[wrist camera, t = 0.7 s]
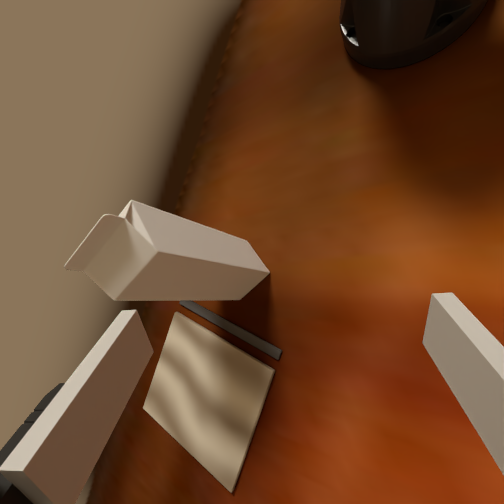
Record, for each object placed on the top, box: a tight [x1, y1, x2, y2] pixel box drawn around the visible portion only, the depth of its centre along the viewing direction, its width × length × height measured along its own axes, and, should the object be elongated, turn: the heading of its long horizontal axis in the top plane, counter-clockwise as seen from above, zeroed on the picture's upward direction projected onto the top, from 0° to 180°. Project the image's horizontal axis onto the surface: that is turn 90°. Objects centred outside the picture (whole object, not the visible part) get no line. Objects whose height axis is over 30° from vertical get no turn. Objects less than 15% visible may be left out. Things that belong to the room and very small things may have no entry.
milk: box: [64, 200, 270, 301], centre depth 29 cm, size 6×6×22 cm
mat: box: [143, 300, 282, 493], centre depth 39 cm, size 19×18×1 cm
